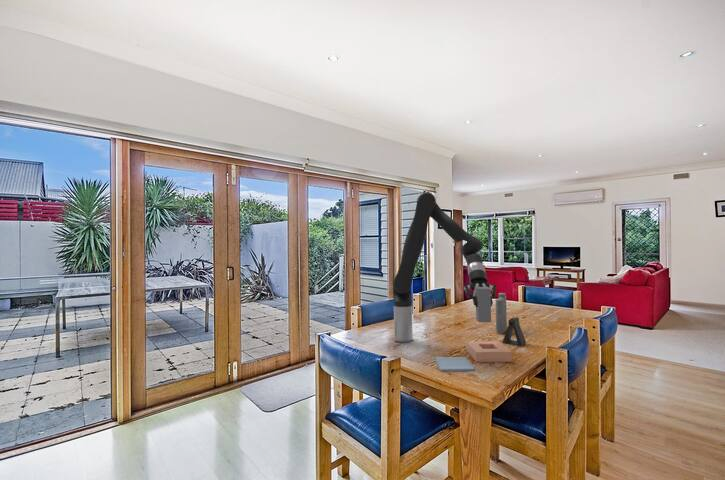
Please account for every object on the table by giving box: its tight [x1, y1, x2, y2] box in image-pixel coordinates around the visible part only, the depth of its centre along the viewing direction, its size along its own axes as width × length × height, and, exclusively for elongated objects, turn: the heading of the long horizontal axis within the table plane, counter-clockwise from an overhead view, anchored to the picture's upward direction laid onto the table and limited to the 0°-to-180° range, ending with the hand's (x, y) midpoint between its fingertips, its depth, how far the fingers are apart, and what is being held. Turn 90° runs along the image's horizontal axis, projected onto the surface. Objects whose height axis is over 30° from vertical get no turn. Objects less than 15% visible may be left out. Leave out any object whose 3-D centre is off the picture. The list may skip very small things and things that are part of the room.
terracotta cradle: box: [466, 340, 513, 363], centre depth 147 cm, size 14×14×4 cm
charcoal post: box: [475, 287, 492, 323], centre depth 145 cm, size 5×5×14 cm
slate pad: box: [434, 356, 476, 372], centre depth 138 cm, size 13×13×1 cm
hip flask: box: [495, 292, 508, 335], centre depth 186 cm, size 16×4×20 cm, turn 149°
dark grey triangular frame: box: [502, 316, 527, 347], centre depth 164 cm, size 9×6×12 cm, turn 48°
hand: (483, 305), depth 145 cm, fingers closed on charcoal post, 5 cm apart
